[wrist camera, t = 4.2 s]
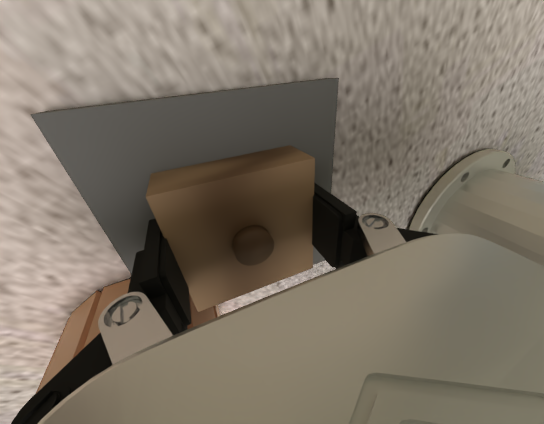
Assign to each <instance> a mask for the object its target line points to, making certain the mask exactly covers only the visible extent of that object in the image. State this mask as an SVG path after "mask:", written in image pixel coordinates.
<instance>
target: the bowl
mask: <svg viewBox="0 0 544 424" xmlns="http://www.w3.org/2000/svg"><path fill="white" fill-rule="evenodd" d="M129 284H130V279H128V280H125V281H122V282H119V283H115V284H112V285H109V286H106V287H104V288H103V291H102V292H99V291H96V292H95V293H94V294H93V295H92V296H91V297H89V298H88V299H87V300H86V301H85V302H84V303H83V304H81V305H80V306H79V307H78V308H77V309H76V310H75V311H73V312H72V314H71V316H70V318H69V319H68V321H67V324H66V326H65V328H64V330H63V333H62V335H61V337H60V340H59V342H58V344H57V346H56V349H55V351H54V353H53V356H52V358H51V360H50V362H49V365H48V367H47V369H46V371H45V374H44V376H43V378H42V381H41V383H40V385H39V387H38V390H37V392H38V391H39V390H40V389H41V388H42V387H44V386H45V385H46V384H47V383H48V382H49V381H50V380H51V379H52V378H53V377H54V376H55V375H56V374H57V373H58V372H59V371H60V370H61V369H62V368H63V367H65V366H66V365H67V364H68V363H69V362H70V361H71V360H72V359H73V358H74V357H75V356H76V355H77V354H78V353H79V352H80V351H81V350H82V349H83V348H84V347H86V346H87V345H88V344H89V343H90V342H91V341H92V340H93V339H94V338H95V337H96V336H97V335H98V334H99V333H100V330H99V327H98V320H99V317H100V315H101V313H102V312H103V310H104V309H105V308H106V307H107V306H108V305H109V304H110V303H111V302H112V301H114V300H115V299H117V298H118V297H120V296H122V295H124V294H127V293H128V289H129ZM189 297H190V309H191V321H192V323H191V324H190V325H187V329H190V328H192V327H195V326H197V325H199V324H202V323H204V322H207V321H209V320H211V319H214V318H216V317H219V316H220V313H219V308H218V305H215V306H213V307H210V308H207V309H205V310H202V311H200V312H198V311H197V309H196V307H195V304H194V302H193V300H192V298H191V296H190V293H189ZM37 392H36V393H37Z"/></svg>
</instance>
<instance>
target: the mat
mask: <svg viewBox="0 0 544 424" xmlns="http://www.w3.org/2000/svg"><path fill="white" fill-rule="evenodd" d="M338 79H339V78H326V79H317V80H309V81H300V82H292V83H283V84H275V85H266V86H258V87H249V88H241V89H232V90H224V91H215V92H207V93H198V94H190V95H181V96H173V97H164V98H156V99H147V100H139V101H130V102H122V103H113V104H105V105H96V106H88V107H79V108H71V109H62V110H54V111H45V112H40V113H36V114H31V116H32V118H33V119H34V121H35V123H36V124H37V126H38V127H39V129H40V131H41V132H42V134H43V135H44V137H45V138H46V140H47V142H48V143H49V145H50V146H51V148H52V149H53V151H54V153H55V154H56V156H57V157H58V159H59V161H60V162H61V164H62V165H63V167H64V168H65V170H66V172H67V173H68V175H69V176H70V178H71V180H72V181H73V183H74V184H75V186H76V187H77V189H78V191H79V192H80V194H81V195H82V197H83V199H84V200H85V202H86V203H87V205H88V206H89V208H90V210H91V211H92V213H93V214H94V216H95V217H96V219H97V221H98V222H99V224H100V225H101V227H102V229H103V230H104V232H105V233H106V235H107V236H108V238H109V240H110V241H111V243H112V244H113V246H114V248H115V249H116V251H117V252H118V254H119V255H120V257H121V259H122V260H123V262H124V263H125V265H126V266H127V268H128V270H129V271H130V273H131V274H132V270H133V265H134V260H135V255H136V253H137V252H138V251H142V250H144V246H145V240H146V234H147V228H148V222H149V220H151V219H155V216H154V214H153V212H152V210H151V208H150V205H149V203H148V201H147V199H146V193H147V189H148V184H149V180H150V176H151V173H156V172H161V171H166V170H171V169H176V168H181V167H186V166H191V165H195V164H200V163H205V162H210V161H215V160H220V159H225V158H230V157H235V156H240V155H244V154H249V153H254V152H259V151H264V150H269V149H274V148H279V147H284V146H288V145H291V146H293V147H295V148H297V149H298V150H300V151H302V152H304V153H306V154H308V155H310V156H312V157H314V158H315V178H314V183H316V184H317V185H319V186H320V187H322V188H323V189H325V190H326V191H327V192H329V193H330V194H331V184H332V169H333V154H334V139H335V124H336V109H337V94H338ZM324 260H325V259H324V258H323V256H322V255H321V254H320V253H319V252H318V251H317V250H316V248H315V247H314V246H313V264H316V263H319V262H321V261H324Z"/></svg>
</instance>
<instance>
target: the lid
mask: <svg viewBox="0 0 544 424" xmlns="http://www.w3.org/2000/svg"><path fill="white" fill-rule="evenodd" d="M314 178H315V158H314V157H312V156H310V155H308V154H306V153H304V152H302V151H300V150H298V149H297V148H295V147H293V146H291V145H288V146H284V147H279V148H274V149H269V150H264V151H259V152H254V153H249V154H244V155H240V156H235V157H230V158H225V159H220V160H215V161H210V162H205V163H200V164H195V165H191V166H186V167H181V168H176V169H171V170H166V171H161V172H156V173H151V176H150V180H149V184H148V189H147V193H146V199H147V201H148V203H149V205H150V208H151V210H152V212H153V214H154V216H155V219H156V221H157V223H158V225H159V227H160V230H161V232H162V234H163V236H164V238H167V241H168V243H169V245H170V247H171V250H172V252H173V254H174V256H175V258H176V261H177V263H178V265H179V267H180V270H181V272H182V274H183V276H184V279H185V281H186V283H187V285H188V287H189V293H190V296H191V298H192V300H193V302H194V304H195V307H196V309H197V311H198V312H200V311H202V310H205V309H207V308H210V307H213V306H215V305H218V304H220V303H223V302H225V301H228V300H231V299H233V298H236V297H238V296H241V295H244V294H246V293H249V292H251V291H254V290H256V289H259V288H262V287H264V286H267V285H269V284H272V283H275V282H277V281H280V280H282V279H285V278H288V277H290V276H293V275H295V274H298V273H300V272H303V271H306V270H308V269H311V268H313V245H312V214H313V196H314Z"/></svg>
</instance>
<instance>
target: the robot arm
mask: <svg viewBox="0 0 544 424" xmlns="http://www.w3.org/2000/svg"><path fill="white" fill-rule="evenodd" d="M356 212H357V211H355V210H354V209H352V208H351V207H349V206H348V205H346V204H345V203H343V202H342V201H341V200H339V199H338V198H336V197H335V196H333V195H332V194H330V193H329V192H327V191H326V190H325V189H323V188H322V187H320V186H319V185H317V184H316V183H314V196H313V214H312V245H313V246H314V247H315V248H316V250H317V251H318V252H319V253H320V254H321V255H322V256H323V258H324V259H325V260H326V261H327V262H328V263H329V264H330V266H332V267H335V268H336V269H335V270H332V271H330V272H327V273H325V274H322V275H320V276H317V277H315V278H312V279H310V280H307V281H305V282H303V283H300V284H298V285H295V286H293V287H290V288H288V289H285V290H283V291H280V292H278V293H275V294H273V295H270V296H268V297H265V298H263V299H260V300H258V301H256V302H253V303H251V304H248V305H246V306H243V307H241V308H238V309H236V310H233V311H231V312H229V313H226V314H224V315H221V316H219V317H216V318H214V319H211V320H209V321H207V322H204V323H202V324H199V325H197V326H195V327H192V328H190V329H187V325H190V324H191V323H192V321H191V309H190V297H189V287H188V285H187V283H186V281H185V279H184V276H183V274H182V272H181V270H180V267H179V265H178V263H177V261H176V258H175V256H174V254H173V252H172V250H171V247H170V245H169V243H168V241H167V238H164V236H163V234H162V232H161V230H160V227H159V225H158V223H157V221H156V219H151V220H149V222H148V228H147V234H146V240H145V246H144V250H142V251H138V252H137V253H136V255H135V260H134V265H133V270H132V274H131V279H130V284H129V289H128V293H127V294H124V295H122V296H120V297H118V298H117V299H115V300H114V301H112V302H111V303H110V304H109V305H108V306H107V307H106V308H105V309H104V310H103V312H102V313H101V315H100V317H99V320H98V327H99V330H100V333H99V334H98V335H97V336H96V337H95V338H94V339H93V340H92V341H91V342H90V343H89V344H88V345H87V346H86V347H84V348H83V349H82V350H81V351H80V352H79V353H78V354H77V355H76V356H75V357H74V358H73V359H72V360H71V361H70V362H69V363H68V364H67V365H66V366H65V367H63V368H62V369H61V370H60V371H59V372H58V373H57V374H56V375H55V376H54V377H53V378H52V379H51V380H50V381H49V382H48V383H47V384H46V385H45V386H44V387H42V388H41V389H40V390H39V391H38V392H37V393H36V394H35V395H34V396H33V397H32V398H31V399H30V400H29V401H28V402H27V403H26V404H25V405H24V406H23V408H22V409H21V410H20V411H19V413H18V414H17V416H16V417H15V418H14V420H13V421H12V423H11V424H544V182H543V181H539V180H535V179H531V178H527V177H524V176H520V175H516V174H515V161H514V159H513V156H512V155H511V154H510V153H508V152H505V151H500V150H496V149H485V150H481V151H478V152H476V153H474V154H472V155H470V156H468V157H466V158H465V159H463V160H462V161H460V162H459V163H457V164H456V165H455V166H454V167H452V168H451V169H450V170H449V171H448V172H447V173H446V174H445V175H444V176H443V177H442V178H441V179H440V180H439V181H438V182H437V183H436V184H435V185H434V186H433V188H432V189H431V190H430V192H429V193H428V194H427V196H426V197H425V198H424V200H423V202H422V203H421V205H420V206H419V208H418V210H417V212H416V214H415V216H414V218H413V220H412V222H411V225H410V228H409V230H407V229H400V228H396V227H395V225H394V224H393V222H392V221H391V220H390V219H389V218H387V217H386V216H383V215H381V214H376V213H367V214H363V215H361V216H360V217H359V216H357V215H356Z"/></svg>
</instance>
